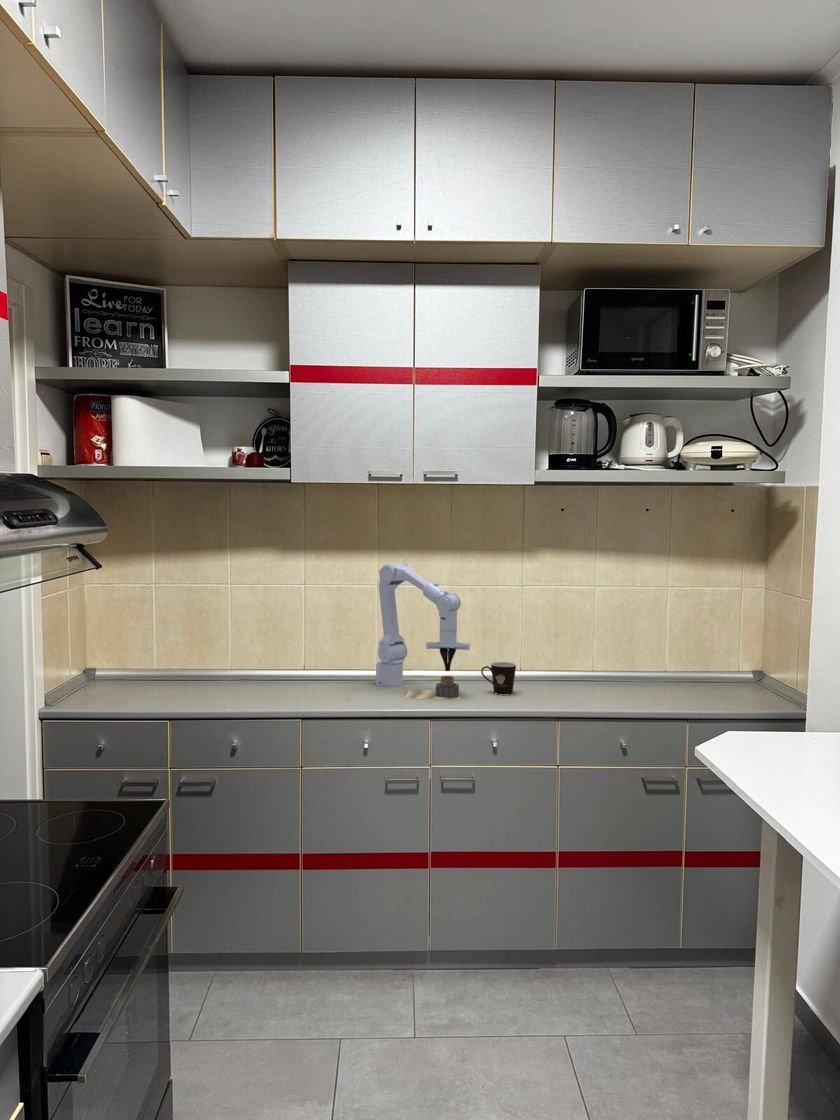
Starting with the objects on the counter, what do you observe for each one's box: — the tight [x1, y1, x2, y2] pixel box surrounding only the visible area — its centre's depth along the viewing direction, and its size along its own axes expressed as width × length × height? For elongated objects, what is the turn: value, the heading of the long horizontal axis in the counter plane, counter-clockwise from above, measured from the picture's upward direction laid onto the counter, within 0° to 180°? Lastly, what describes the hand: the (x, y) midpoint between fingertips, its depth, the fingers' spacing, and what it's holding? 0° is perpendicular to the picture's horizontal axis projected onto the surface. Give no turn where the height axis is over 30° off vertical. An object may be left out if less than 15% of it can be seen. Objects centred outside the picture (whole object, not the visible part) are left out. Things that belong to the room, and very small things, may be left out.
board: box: [404, 689, 462, 701], centre depth 273 cm, size 18×12×1 cm, turn 84°
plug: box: [440, 675, 455, 687], centre depth 272 cm, size 4×4×6 cm
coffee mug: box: [480, 661, 517, 695], centre depth 282 cm, size 12×9×10 cm
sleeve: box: [435, 682, 460, 698], centre depth 272 cm, size 8×8×4 cm
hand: (447, 670), depth 272 cm, fingers closed
